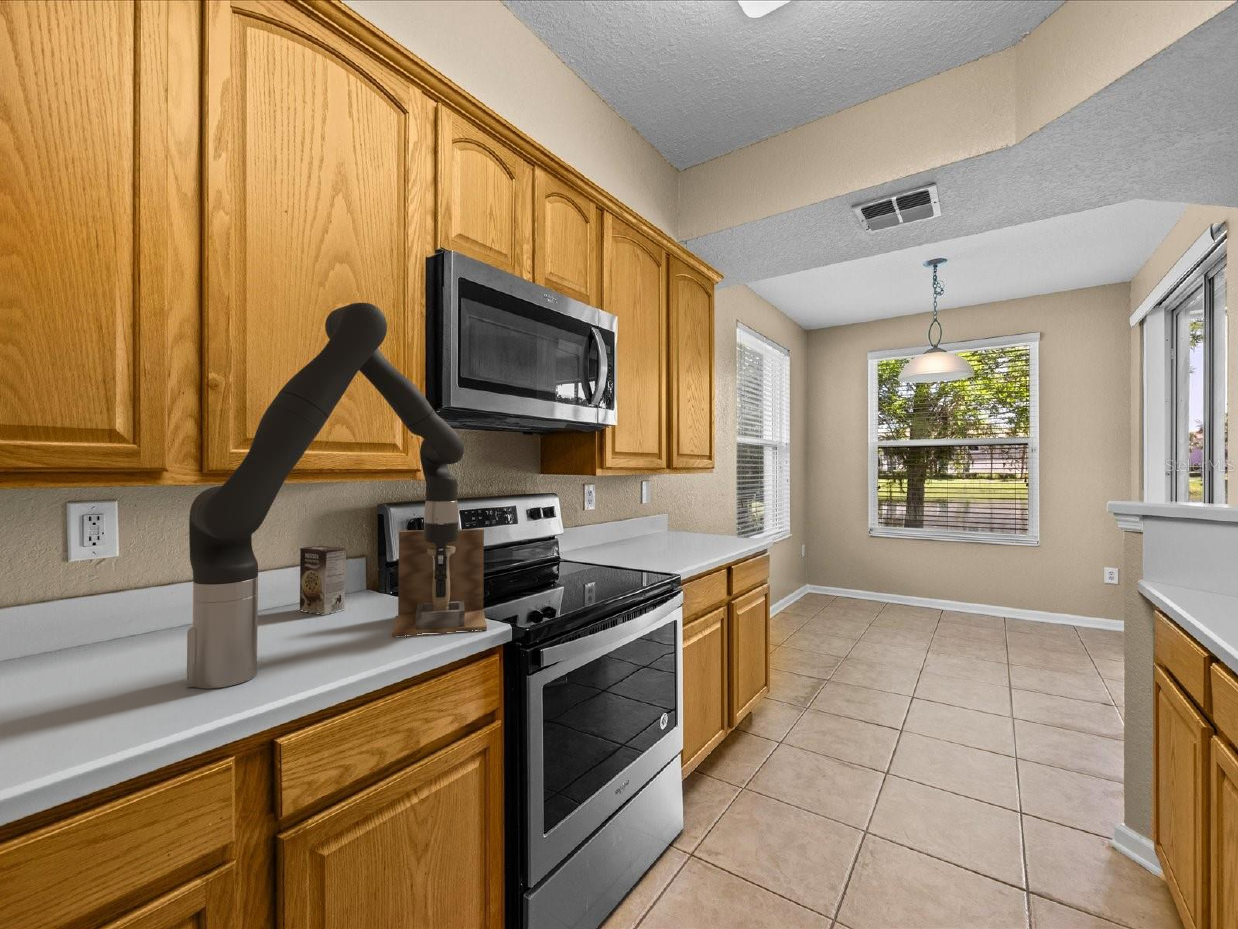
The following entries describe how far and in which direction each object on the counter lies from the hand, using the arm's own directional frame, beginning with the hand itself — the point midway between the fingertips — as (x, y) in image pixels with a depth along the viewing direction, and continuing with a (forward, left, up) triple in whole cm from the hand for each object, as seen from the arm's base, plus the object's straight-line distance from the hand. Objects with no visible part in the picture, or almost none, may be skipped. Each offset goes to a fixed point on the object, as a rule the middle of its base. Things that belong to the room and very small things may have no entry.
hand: (440, 594), depth 131 cm
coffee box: (-29, +22, -8) cm, 37 cm away
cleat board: (0, +3, -7) cm, 8 cm away
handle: (0, 0, -4) cm, 4 cm away
